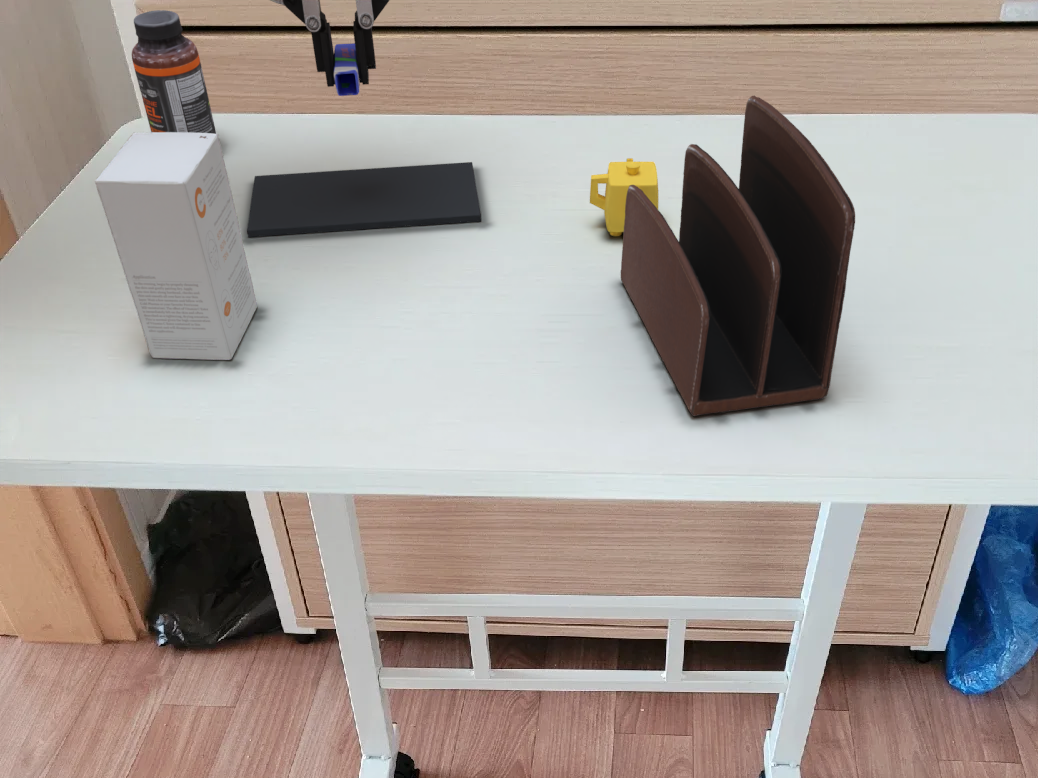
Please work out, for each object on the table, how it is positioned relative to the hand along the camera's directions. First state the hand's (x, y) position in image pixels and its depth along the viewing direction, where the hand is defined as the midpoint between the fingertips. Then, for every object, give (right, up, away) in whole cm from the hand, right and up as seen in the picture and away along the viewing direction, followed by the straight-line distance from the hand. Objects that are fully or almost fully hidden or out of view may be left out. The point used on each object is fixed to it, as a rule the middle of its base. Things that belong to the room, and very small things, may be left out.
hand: (348, 77), depth 91 cm
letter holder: (+29, -25, -8) cm, 39 cm away
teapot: (+23, -11, +4) cm, 26 cm away
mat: (0, -7, +8) cm, 10 cm away
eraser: (0, 0, +1) cm, 1 cm away
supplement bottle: (-18, +2, +16) cm, 24 cm away
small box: (-10, -24, -7) cm, 26 cm away
